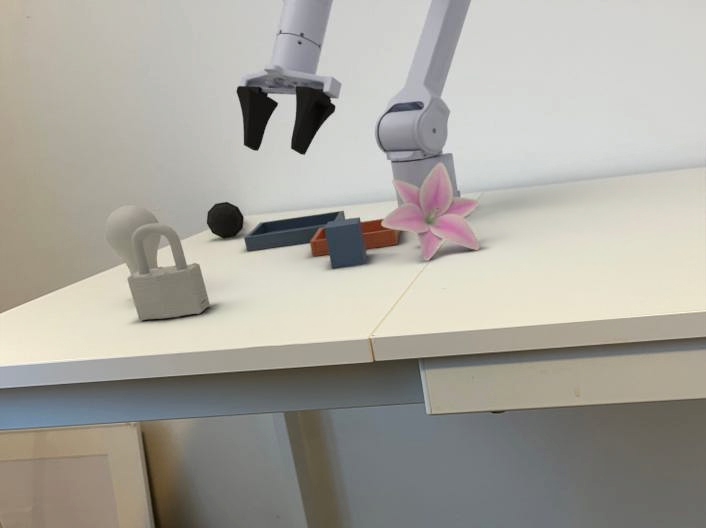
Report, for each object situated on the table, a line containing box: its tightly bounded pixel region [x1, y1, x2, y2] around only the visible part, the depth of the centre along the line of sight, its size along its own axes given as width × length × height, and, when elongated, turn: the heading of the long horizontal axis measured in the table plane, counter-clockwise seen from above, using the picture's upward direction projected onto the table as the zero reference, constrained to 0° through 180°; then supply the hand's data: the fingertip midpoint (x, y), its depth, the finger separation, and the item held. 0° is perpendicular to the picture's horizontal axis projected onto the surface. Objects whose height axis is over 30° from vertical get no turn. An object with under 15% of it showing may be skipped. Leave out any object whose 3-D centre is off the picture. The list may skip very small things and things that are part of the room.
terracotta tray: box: [309, 218, 401, 257], centre depth 110 cm, size 11×9×2 cm
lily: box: [381, 163, 481, 262], centre depth 98 cm, size 12×12×10 cm
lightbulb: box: [104, 204, 162, 275], centre depth 96 cm, size 6×6×11 cm
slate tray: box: [243, 210, 346, 252], centre depth 120 cm, size 13×11×2 cm
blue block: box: [324, 216, 368, 269], centre depth 99 cm, size 4×4×5 cm
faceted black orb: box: [206, 201, 245, 239], centre depth 134 cm, size 6×6×20 cm
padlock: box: [127, 222, 211, 321], centre depth 86 cm, size 7×4×10 cm, turn 87°
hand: (274, 149), depth 100 cm, fingers open, 7 cm apart
